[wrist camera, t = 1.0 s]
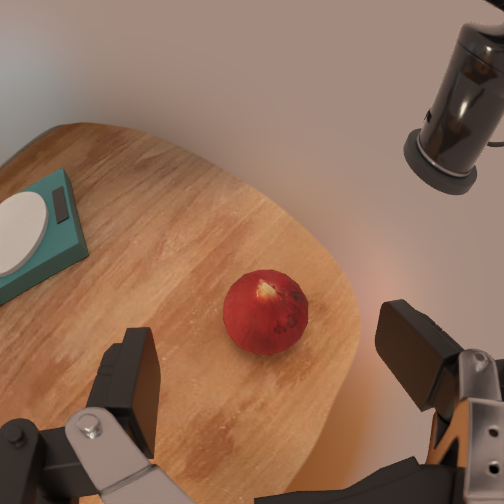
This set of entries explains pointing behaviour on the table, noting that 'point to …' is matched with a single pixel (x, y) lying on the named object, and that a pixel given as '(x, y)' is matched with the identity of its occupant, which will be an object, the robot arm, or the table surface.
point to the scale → (38, 234)
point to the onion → (265, 312)
